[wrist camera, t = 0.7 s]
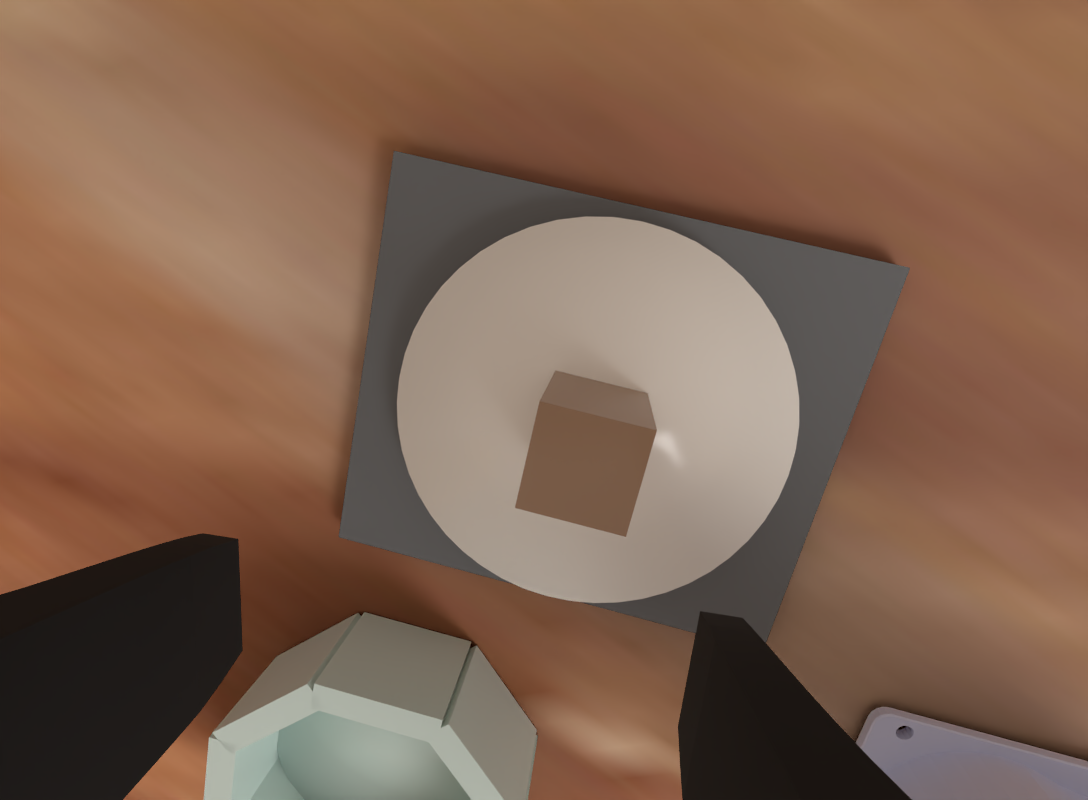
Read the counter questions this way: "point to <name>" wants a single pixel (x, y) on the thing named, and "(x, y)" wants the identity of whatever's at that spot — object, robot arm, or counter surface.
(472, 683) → the bowl
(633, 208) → the mat
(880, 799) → the robot arm
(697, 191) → the counter surface
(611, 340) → the lid
